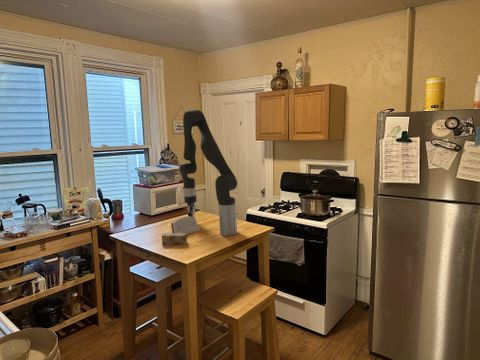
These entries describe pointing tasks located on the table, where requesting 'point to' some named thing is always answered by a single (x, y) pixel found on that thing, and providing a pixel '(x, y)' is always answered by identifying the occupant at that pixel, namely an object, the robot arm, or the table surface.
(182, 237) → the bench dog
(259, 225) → the table surface
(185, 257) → the table surface
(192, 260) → the table surface
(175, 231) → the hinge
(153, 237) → the table surface
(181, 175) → the robot arm
